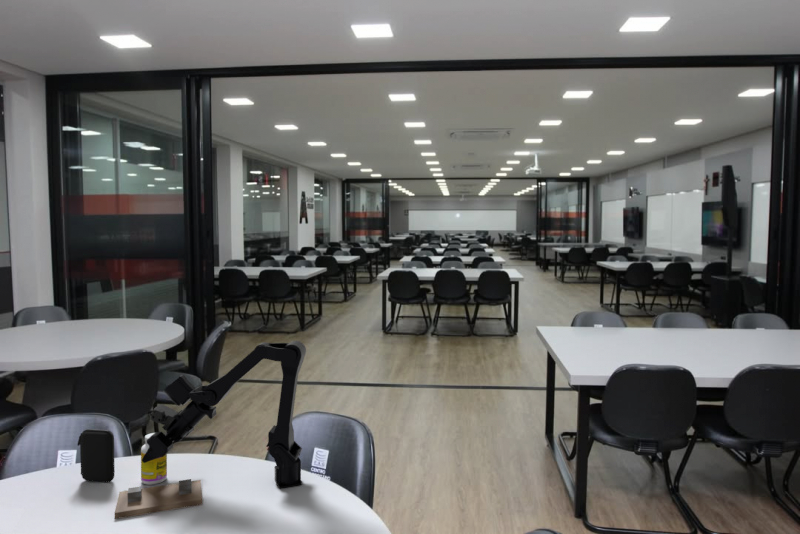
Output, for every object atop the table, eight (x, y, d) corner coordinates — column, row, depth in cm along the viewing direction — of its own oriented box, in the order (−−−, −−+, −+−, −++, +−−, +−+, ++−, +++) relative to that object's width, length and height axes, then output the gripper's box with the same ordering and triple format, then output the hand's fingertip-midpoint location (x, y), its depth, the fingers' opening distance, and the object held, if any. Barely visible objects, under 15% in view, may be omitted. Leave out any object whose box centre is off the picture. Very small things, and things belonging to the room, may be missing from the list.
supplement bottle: (157, 486, 149) (156, 440, 149) (135, 484, 150) (135, 438, 150) (172, 476, 156) (171, 432, 155) (151, 474, 157) (151, 430, 156)
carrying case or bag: (74, 482, 151) (73, 430, 151) (82, 478, 154) (81, 426, 154) (110, 485, 150) (109, 432, 149) (117, 480, 153) (116, 428, 152)
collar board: (200, 485, 150) (200, 471, 150) (202, 504, 139) (202, 489, 139) (119, 497, 143) (119, 482, 142) (114, 519, 132) (114, 502, 131)
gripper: (183, 387, 161) (146, 423, 162) (153, 406, 143) (112, 447, 143) (209, 414, 161) (173, 450, 162) (183, 436, 143) (142, 477, 143)
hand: (151, 454), depth 153 cm, fingers open, 9 cm apart
